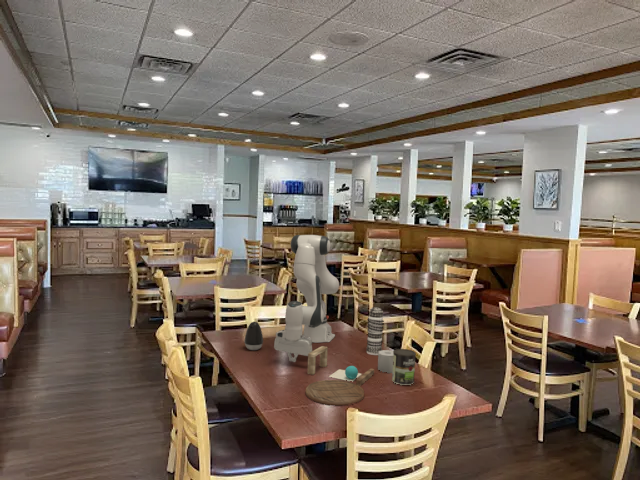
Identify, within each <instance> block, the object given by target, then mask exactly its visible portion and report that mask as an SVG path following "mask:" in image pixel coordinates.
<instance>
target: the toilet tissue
mask: <svg viewBox="0 0 640 480" xmlns="http://www.w3.org/2000/svg"><path fill="white" fill-rule="evenodd" d="M393 351H394V350H391V349H390V350H388V349H385V350H384V349H382V350H381V351H379V352H378V355H377V371H378V370H380V371H379V372H381V371H382V372H381V373H384V372H387V373H386V374H390V373H393V354H394V353H393Z"/></svg>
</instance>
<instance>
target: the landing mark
mask: <svg viewBox="0 0 640 480" xmlns="http://www.w3.org/2000/svg"><path fill="white" fill-rule="evenodd" d="M345 370H346V369H340V368H339V369H337V370H336V371H335V372H333V373H332V374H330V375H329V376H328V378H331V377H332V378H333V379H335V380H341V381H346V380H347V381H346V382H350V381H352V382H351V383H353V382H354V381H356V380H357V379H358V378H359V377H360V376H362V375H363V373H360V372H358V375H357V377H356V378H357V379H356V378H354V379H349V378H347V376H346V375H345Z"/></svg>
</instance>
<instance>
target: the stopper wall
mask: <svg viewBox="0 0 640 480" xmlns="http://www.w3.org/2000/svg"><path fill="white" fill-rule="evenodd" d="M372 375H373V376H374V375H375V369H374V368H369V369H368V370H367V371H365V372H364V373H362V375H360V376H359V377H358V378H357V379H355V384H356V385H358V386H360V387H362V385H363V384H365V383H366V382H367V381H368V380H369V379H370V378H372V377H373V376H372ZM365 381H366V382H365Z"/></svg>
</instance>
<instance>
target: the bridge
mask: <svg viewBox="0 0 640 480" xmlns="http://www.w3.org/2000/svg"><path fill="white" fill-rule="evenodd" d="M328 348H329V347H328V346H324V345H321V346H319V347H318V348H316V349H314V350H312V352H310V353H309V354H308V356H307V373H306V374H307V375H311V376H312V375H313V376H314V375H315V374H316V358H317V356H318V355H319V367H322V368H325V367H327V365H328Z"/></svg>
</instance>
